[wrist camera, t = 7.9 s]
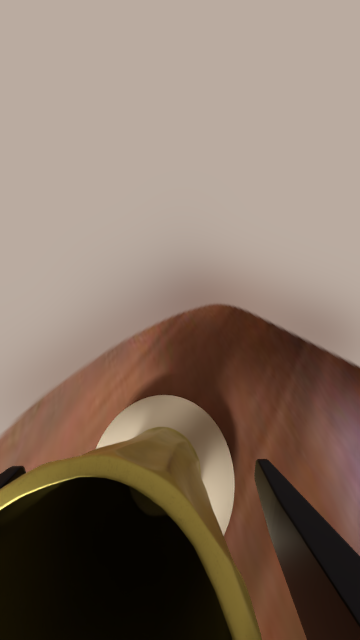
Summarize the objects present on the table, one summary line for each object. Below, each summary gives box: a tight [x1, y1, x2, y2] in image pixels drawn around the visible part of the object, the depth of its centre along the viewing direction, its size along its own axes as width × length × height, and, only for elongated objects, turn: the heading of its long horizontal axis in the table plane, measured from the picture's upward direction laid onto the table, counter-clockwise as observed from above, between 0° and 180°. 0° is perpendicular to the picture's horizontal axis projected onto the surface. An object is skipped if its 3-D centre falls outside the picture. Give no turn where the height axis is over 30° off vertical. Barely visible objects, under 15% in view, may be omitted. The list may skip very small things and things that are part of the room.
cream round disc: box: [96, 395, 235, 536], centre depth 16 cm, size 11×11×3 cm
